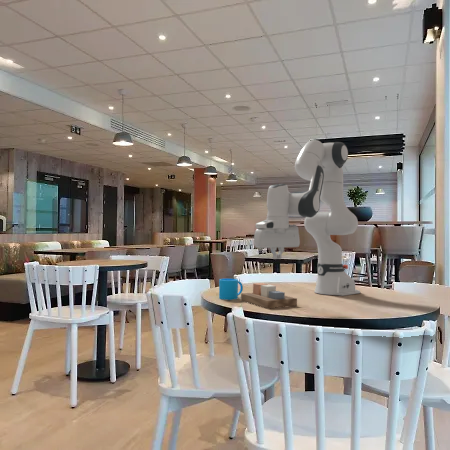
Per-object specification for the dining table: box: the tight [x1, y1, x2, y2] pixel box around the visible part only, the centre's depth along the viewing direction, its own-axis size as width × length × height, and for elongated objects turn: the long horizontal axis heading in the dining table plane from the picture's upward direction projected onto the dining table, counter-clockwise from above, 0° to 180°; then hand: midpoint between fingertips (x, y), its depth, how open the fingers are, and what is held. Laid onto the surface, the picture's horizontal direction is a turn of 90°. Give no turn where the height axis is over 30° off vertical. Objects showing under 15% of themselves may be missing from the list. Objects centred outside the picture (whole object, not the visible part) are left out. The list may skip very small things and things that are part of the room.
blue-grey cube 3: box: [269, 290, 286, 300], centre depth 171 cm, size 4×4×4 cm
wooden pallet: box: [240, 292, 298, 309], centre depth 176 cm, size 14×20×3 cm
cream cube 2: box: [261, 284, 277, 297], centre depth 176 cm, size 4×4×4 cm
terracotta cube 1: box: [252, 282, 269, 295], centre depth 182 cm, size 4×4×4 cm
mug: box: [218, 278, 244, 301], centre depth 189 cm, size 12×8×8 cm
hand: (277, 258), depth 171 cm, fingers closed
